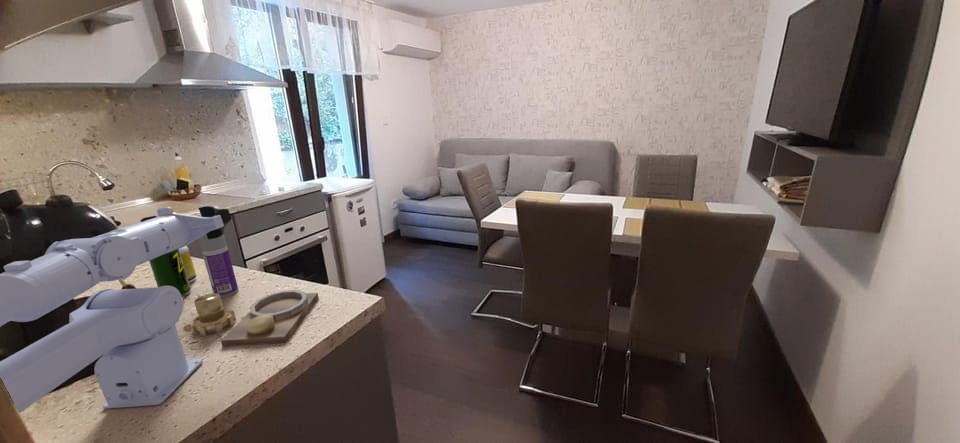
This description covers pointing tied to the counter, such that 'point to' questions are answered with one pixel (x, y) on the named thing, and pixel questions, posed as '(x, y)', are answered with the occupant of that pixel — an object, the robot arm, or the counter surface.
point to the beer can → (171, 272)
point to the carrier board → (280, 324)
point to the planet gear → (211, 315)
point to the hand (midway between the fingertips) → (208, 218)
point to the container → (218, 265)
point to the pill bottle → (187, 263)
